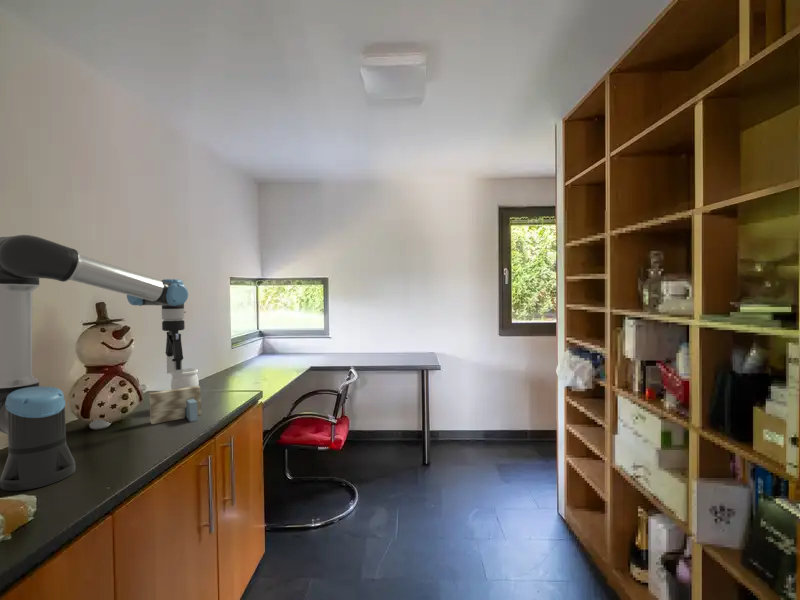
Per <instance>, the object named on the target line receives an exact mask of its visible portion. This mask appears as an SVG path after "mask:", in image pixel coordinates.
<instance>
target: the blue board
mask: <svg viewBox="0 0 800 600" xmlns="http://www.w3.org/2000/svg"><path fill="white" fill-rule="evenodd" d="M186 401H187V407H186V408H185V418H187V420H188V421H189V422H190V423H191V422H197V421H198V420H199V419H198V418H199V417H198V416H199V415H198V414H197V401H195V400H194V399H189V400H186Z"/></svg>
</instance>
